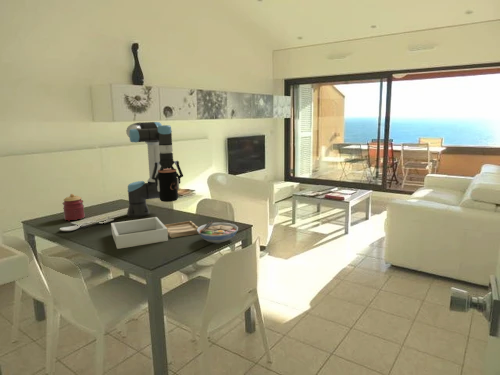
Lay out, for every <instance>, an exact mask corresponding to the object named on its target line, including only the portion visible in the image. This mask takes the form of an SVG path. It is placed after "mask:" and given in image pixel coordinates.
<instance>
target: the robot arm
mask: <svg viewBox="0 0 500 375" xmlns="http://www.w3.org/2000/svg"><path fill="white" fill-rule="evenodd" d="M125 131H126V135H127V137H128V139H129V142H131V143H145V144H147V145H146V146H147V157H148V158H147V159H148V172H149V173H148V175H149V178H148V179H147V182H146V181H143V180H138V181H134V182H131V183H129V184H128V185H127V194H128V208H127V211H126V214H128V216H127V217H129V218H141V217H147V216H149V215H150V210H149V207H148V204H147V200H155V199H160V196H159V191H160V188H159V180H158V178H159V174H160V173H158V170H160V171H162V170H163V169H172V170H175V169H176V170H177V171H178V172H177V171H176V174H177V188H178V191H179V190H180V184H181V178H183V177H184V174H183V172H182V169H181V167H180V161H178V160H174V153H173V138H172V136H173V134H172V132H173V131H172V126H171V125H167V124H166V125H165V124H162V122H158V121H145V122H134V123H132V124H129V125H128V126H127V128H126V130H125ZM174 164H175V165H176V168H175V167H174V166H173V165H174Z"/></svg>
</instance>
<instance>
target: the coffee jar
mask: <svg viewBox="0 0 500 375" xmlns="http://www.w3.org/2000/svg"><path fill="white" fill-rule="evenodd" d="M174 169H175V170H172V169H171V168H170V169H168V168H167V169H163V170H162V171H160V170H158V173H160V174H159V178H158V180H159V188H160V191H159V196H160V198H159V200H160V201H161V202H162V203H171V202H176V201H177V200H178V198H179V190H178V188H177V178H178V177H177V174H176V172H177V168H174Z"/></svg>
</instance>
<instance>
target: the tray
mask: <svg viewBox="0 0 500 375" xmlns="http://www.w3.org/2000/svg"><path fill="white" fill-rule="evenodd" d="M164 226H165V227H166V228H167V233H168V237H169V238H170V239H174V238H178V237H179V238H180V237H186V236H193V235H199V233H198V231H197V229H198V227H199V226H198V225H196V223H194V222H193V221H192V220H188V221H182V222H181V221H180V222H175V223H168V224H167V223H166V224H164Z"/></svg>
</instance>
